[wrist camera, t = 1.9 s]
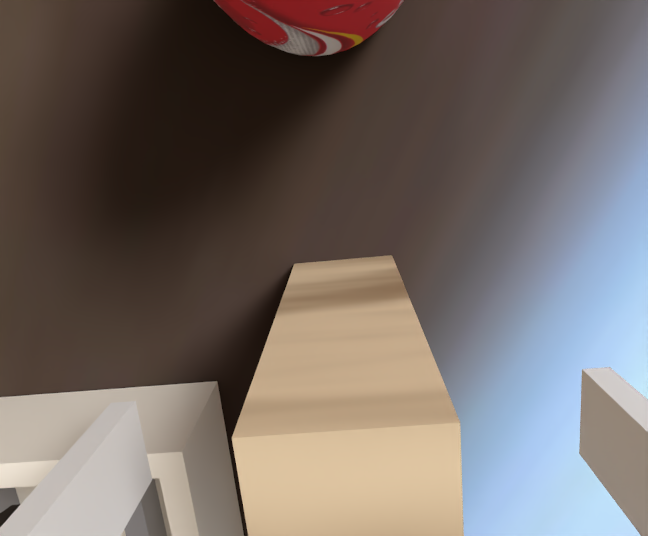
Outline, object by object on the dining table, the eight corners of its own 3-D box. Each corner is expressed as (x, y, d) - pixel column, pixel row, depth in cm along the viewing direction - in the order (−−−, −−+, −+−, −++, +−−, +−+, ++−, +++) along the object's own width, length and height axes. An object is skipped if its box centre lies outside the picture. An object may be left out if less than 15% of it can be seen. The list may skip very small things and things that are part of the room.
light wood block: (294, 263, 20) (231, 438, 9) (391, 255, 20) (460, 422, 9) (309, 394, 22) (274, 688, 10) (400, 388, 22) (468, 681, 10)
